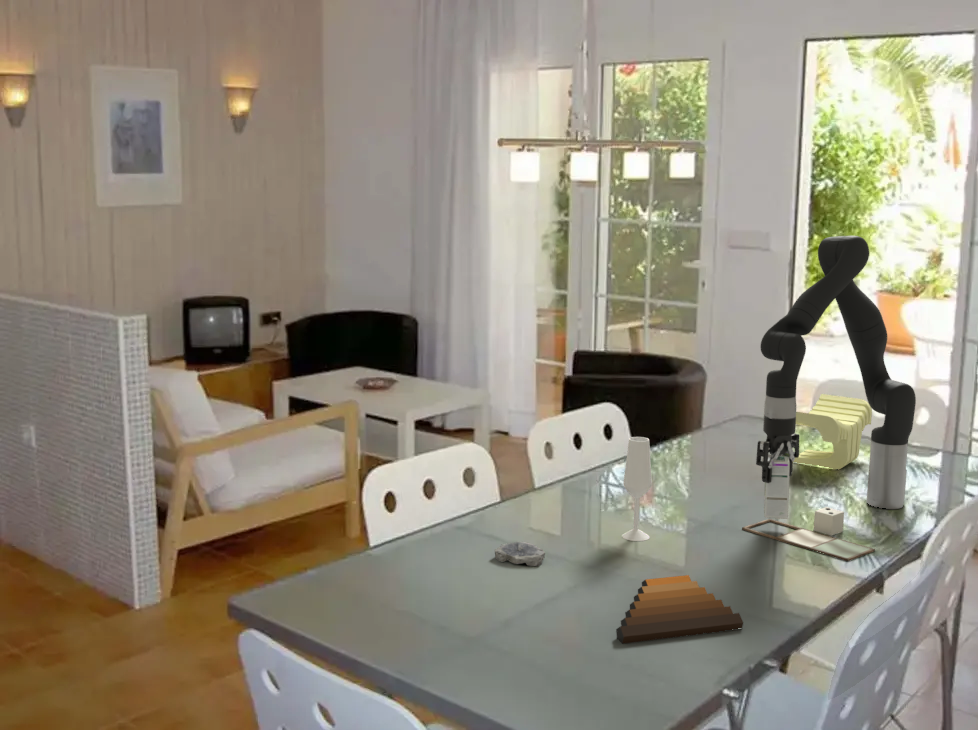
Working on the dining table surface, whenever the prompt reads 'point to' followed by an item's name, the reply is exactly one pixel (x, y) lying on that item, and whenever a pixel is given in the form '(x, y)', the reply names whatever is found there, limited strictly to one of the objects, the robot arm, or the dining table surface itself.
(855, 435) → the slatted curved stool
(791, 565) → the dining table surface
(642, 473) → the champagne flute
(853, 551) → the board
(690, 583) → the pan flute
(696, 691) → the dining table surface
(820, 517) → the die
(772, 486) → the syrup box
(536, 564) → the grey stone dish
